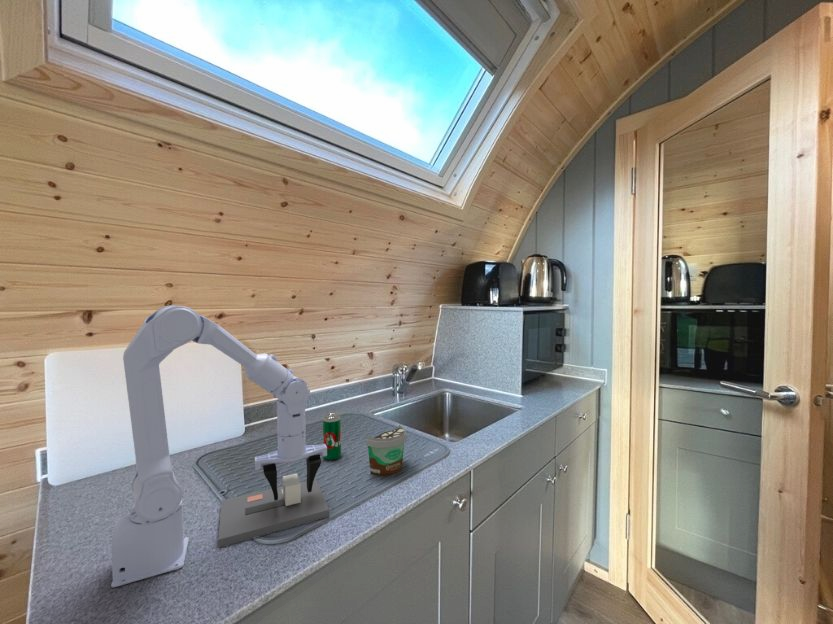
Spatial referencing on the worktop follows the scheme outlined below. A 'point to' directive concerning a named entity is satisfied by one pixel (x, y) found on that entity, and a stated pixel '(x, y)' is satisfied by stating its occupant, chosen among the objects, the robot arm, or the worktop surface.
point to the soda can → (332, 435)
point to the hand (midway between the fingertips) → (292, 493)
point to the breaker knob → (291, 489)
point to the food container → (386, 452)
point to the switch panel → (268, 513)
